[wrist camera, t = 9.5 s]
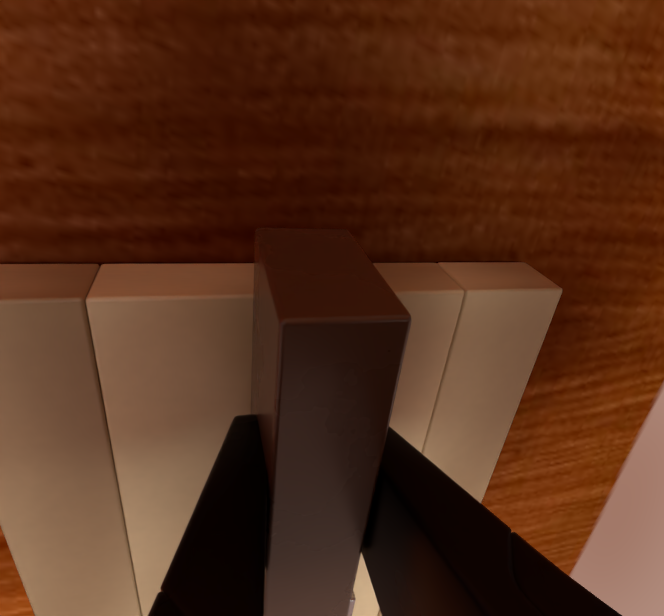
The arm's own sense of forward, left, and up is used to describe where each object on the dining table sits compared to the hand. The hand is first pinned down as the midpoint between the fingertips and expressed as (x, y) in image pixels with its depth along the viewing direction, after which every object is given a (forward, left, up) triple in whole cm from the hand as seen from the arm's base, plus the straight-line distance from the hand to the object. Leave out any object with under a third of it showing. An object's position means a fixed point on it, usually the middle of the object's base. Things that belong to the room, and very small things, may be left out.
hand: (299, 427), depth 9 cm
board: (0, +10, -3) cm, 10 cm away
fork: (0, +4, -1) cm, 4 cm away
